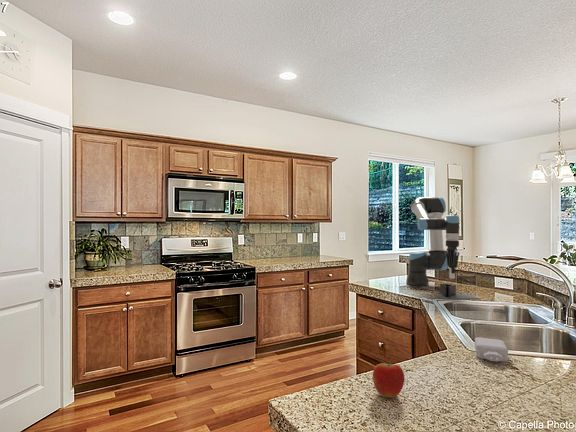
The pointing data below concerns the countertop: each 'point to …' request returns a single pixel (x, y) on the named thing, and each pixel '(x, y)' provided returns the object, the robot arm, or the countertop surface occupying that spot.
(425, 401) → the countertop surface
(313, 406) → the countertop surface
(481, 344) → the charger
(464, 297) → the mat
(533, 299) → the countertop surface
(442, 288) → the phone stand
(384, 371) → the apple
